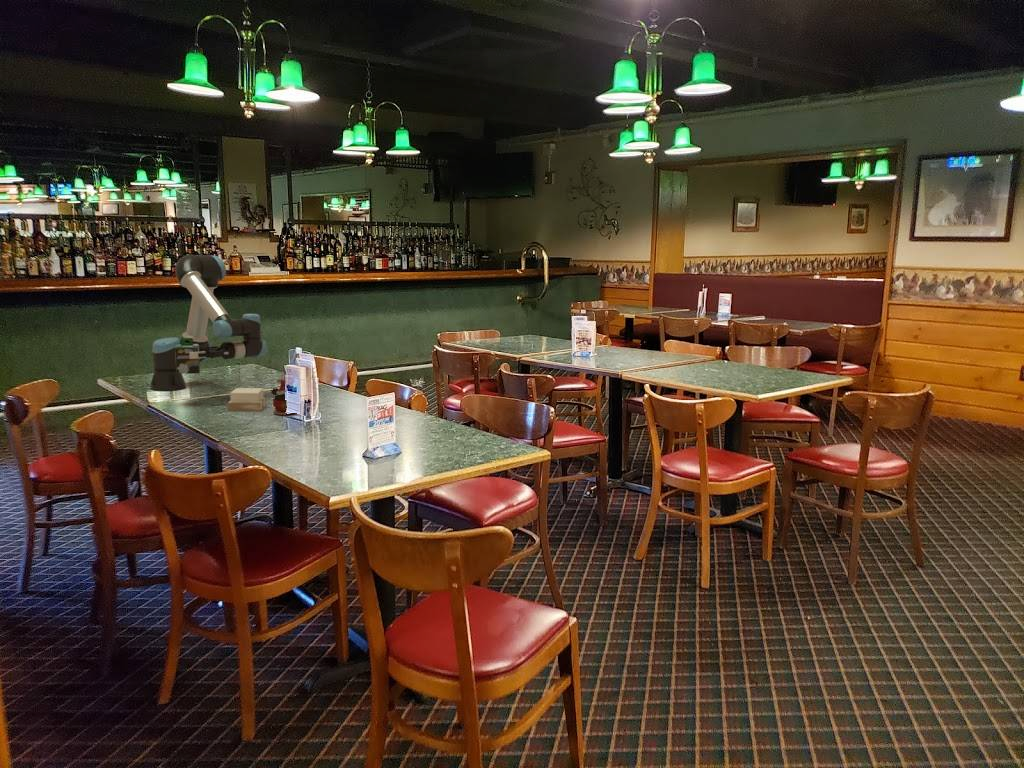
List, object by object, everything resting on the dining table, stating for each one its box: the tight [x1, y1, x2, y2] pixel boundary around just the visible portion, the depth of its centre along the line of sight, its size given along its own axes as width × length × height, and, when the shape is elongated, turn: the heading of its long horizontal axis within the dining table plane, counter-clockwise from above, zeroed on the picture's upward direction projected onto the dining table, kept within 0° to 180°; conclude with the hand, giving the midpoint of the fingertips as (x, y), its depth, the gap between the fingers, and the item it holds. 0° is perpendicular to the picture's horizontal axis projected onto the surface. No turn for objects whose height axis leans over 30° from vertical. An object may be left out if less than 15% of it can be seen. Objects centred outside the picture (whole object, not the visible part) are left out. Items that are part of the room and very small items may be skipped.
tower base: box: [226, 396, 267, 412], centre depth 313 cm, size 13×13×4 cm
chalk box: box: [175, 337, 201, 375], centre depth 313 cm, size 9×9×15 cm
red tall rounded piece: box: [270, 369, 287, 416], centre depth 304 cm, size 11×9×18 cm
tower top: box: [230, 387, 264, 403], centre depth 313 cm, size 11×11×4 cm
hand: (183, 353), depth 311 cm, fingers closed on chalk box, 12 cm apart
